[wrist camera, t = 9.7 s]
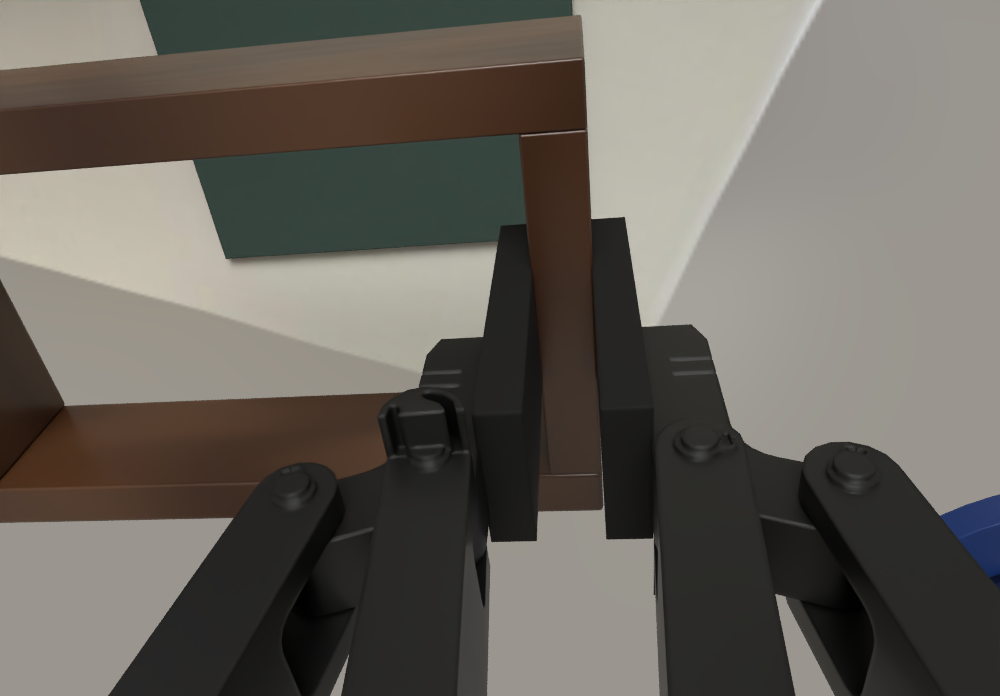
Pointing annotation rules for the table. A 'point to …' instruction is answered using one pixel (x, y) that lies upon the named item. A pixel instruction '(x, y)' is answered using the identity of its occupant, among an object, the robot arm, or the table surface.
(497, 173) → the mat
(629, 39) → the table surface
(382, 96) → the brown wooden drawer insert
